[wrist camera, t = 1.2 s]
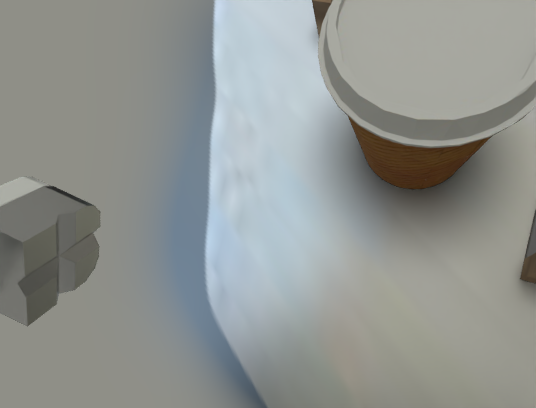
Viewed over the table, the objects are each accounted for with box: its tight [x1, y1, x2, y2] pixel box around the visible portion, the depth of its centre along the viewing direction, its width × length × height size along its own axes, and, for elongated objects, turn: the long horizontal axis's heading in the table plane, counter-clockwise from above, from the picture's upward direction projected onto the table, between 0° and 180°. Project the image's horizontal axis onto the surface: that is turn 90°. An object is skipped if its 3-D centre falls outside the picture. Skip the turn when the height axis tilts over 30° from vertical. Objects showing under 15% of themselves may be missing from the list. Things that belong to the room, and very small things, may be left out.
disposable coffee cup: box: [318, 0, 536, 189], centre depth 23 cm, size 10×10×12 cm
